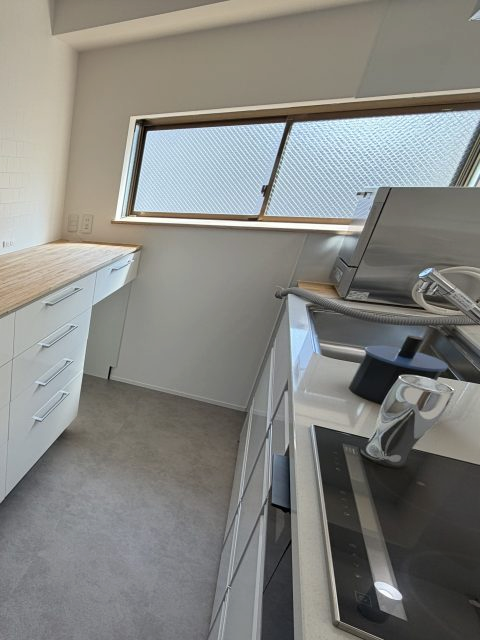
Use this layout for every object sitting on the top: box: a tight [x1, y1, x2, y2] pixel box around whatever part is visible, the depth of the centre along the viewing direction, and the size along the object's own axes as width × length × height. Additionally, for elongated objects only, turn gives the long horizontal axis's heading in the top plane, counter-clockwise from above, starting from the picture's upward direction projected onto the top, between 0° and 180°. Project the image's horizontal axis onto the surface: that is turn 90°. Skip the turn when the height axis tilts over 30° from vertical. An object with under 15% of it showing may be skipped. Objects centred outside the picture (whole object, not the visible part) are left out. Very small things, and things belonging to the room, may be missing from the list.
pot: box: [348, 352, 443, 406], centre depth 94 cm, size 12×12×10 cm
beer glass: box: [359, 375, 456, 469], centre depth 70 cm, size 7×7×15 cm
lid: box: [364, 335, 449, 372], centre depth 91 cm, size 14×14×6 cm
